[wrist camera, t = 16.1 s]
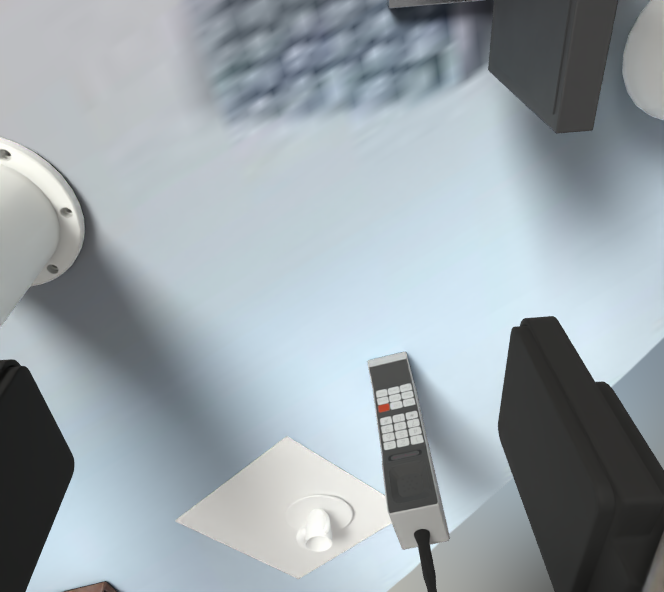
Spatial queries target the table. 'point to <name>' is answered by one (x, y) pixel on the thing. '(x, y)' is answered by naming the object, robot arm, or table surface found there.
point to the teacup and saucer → (290, 510)
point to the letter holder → (95, 588)
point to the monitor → (549, 54)
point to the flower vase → (646, 60)
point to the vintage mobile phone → (407, 461)
